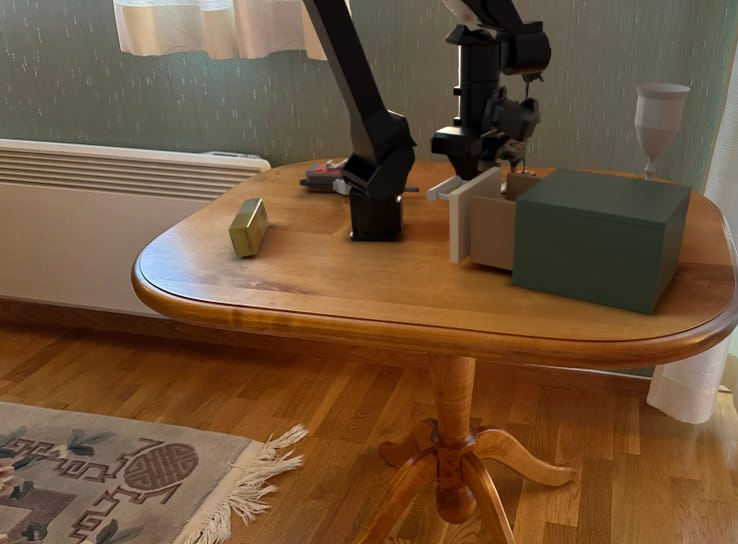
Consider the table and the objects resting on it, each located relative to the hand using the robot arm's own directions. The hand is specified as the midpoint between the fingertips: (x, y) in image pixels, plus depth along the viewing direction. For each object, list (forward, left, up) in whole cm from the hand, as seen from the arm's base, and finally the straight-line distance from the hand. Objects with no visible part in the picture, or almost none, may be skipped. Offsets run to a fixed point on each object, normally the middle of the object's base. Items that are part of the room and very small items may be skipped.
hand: (477, 189), depth 101 cm
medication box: (-30, -14, -3) cm, 34 cm away
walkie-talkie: (-19, +9, -3) cm, 21 cm away
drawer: (+4, -19, -2) cm, 19 cm away
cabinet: (+15, -23, -3) cm, 28 cm away
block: (0, 0, -1) cm, 1 cm away
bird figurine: (+6, +11, -3) cm, 13 cm away
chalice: (+25, -1, -3) cm, 25 cm away
